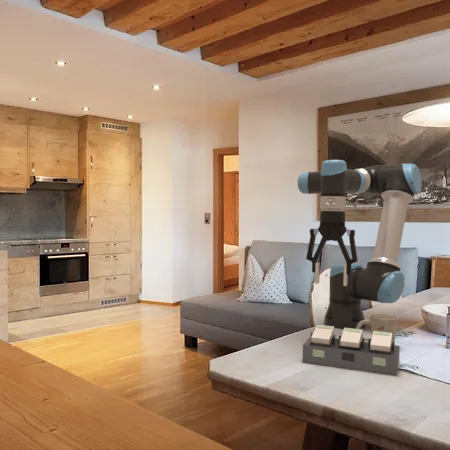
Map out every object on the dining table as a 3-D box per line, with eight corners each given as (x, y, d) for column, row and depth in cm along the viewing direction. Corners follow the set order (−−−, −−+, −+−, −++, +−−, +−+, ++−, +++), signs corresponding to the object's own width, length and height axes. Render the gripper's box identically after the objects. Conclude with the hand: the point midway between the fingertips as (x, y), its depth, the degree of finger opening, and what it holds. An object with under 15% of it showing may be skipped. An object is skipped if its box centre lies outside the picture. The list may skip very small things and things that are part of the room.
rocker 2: (344, 332, 135) (344, 327, 134) (362, 334, 133) (362, 329, 133) (340, 345, 128) (340, 340, 127) (358, 348, 126) (358, 342, 125)
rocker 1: (317, 329, 138) (317, 324, 138) (334, 331, 136) (334, 326, 136) (311, 342, 131) (311, 336, 131) (329, 344, 129) (329, 338, 129)
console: (311, 351, 140) (311, 328, 140) (399, 363, 130) (399, 338, 130) (302, 362, 130) (302, 337, 130) (397, 376, 120) (397, 348, 120)
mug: (399, 352, 141) (400, 319, 141) (356, 349, 144) (357, 317, 144) (394, 345, 150) (395, 314, 149) (354, 342, 152) (355, 312, 152)
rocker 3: (373, 335, 132) (373, 330, 131) (392, 337, 130) (392, 332, 129) (370, 349, 125) (370, 343, 124) (390, 351, 123) (390, 346, 122)
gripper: (296, 210, 143) (295, 283, 144) (366, 210, 135) (364, 288, 136) (302, 210, 150) (301, 280, 151) (369, 211, 142) (367, 285, 143)
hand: (331, 284), depth 143 cm, fingers open, 8 cm apart
